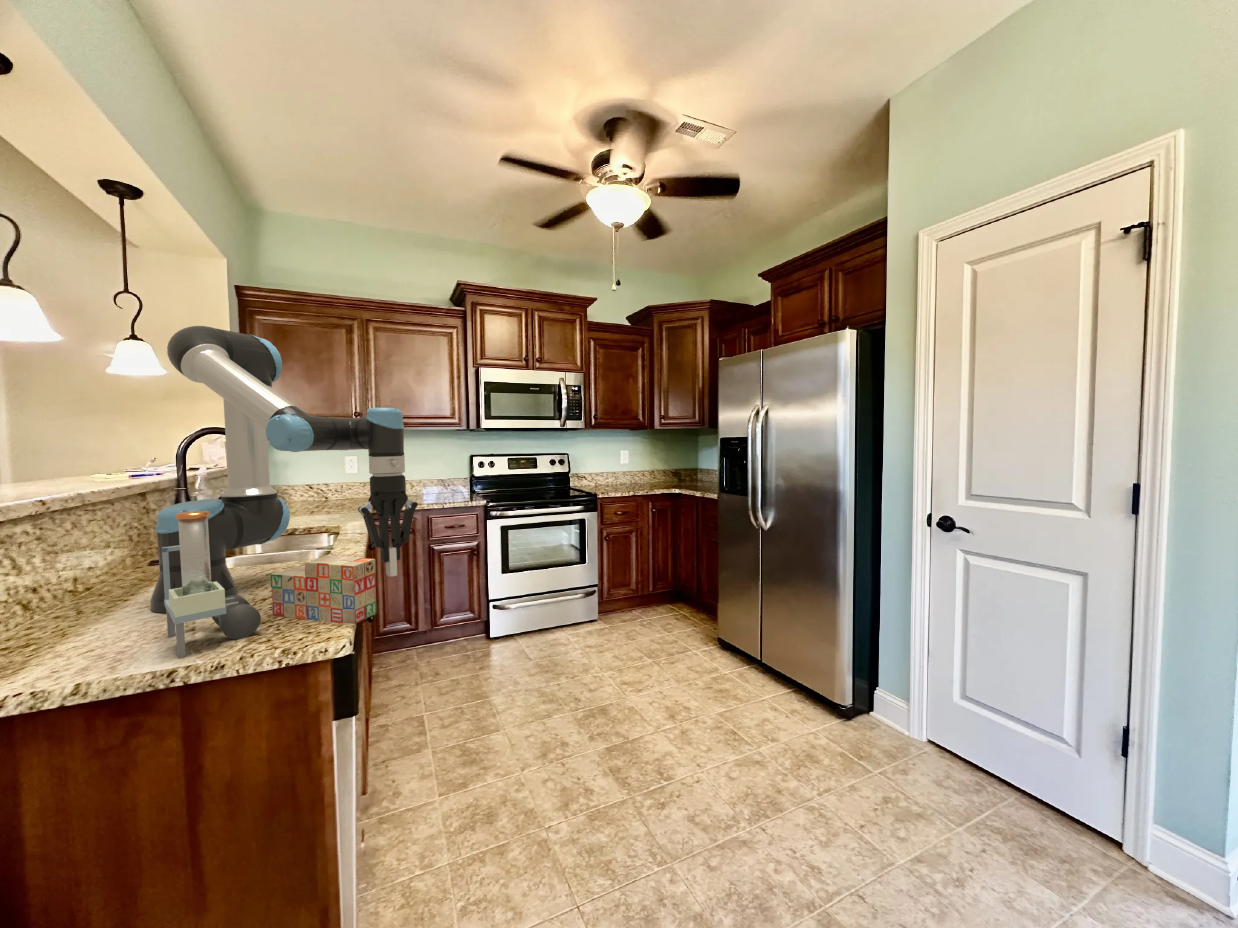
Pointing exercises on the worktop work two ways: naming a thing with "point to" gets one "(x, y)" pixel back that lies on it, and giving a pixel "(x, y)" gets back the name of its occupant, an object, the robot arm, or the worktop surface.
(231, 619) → the cart
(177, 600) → the tray
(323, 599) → the stack of blocks
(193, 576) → the orange capped bottle
